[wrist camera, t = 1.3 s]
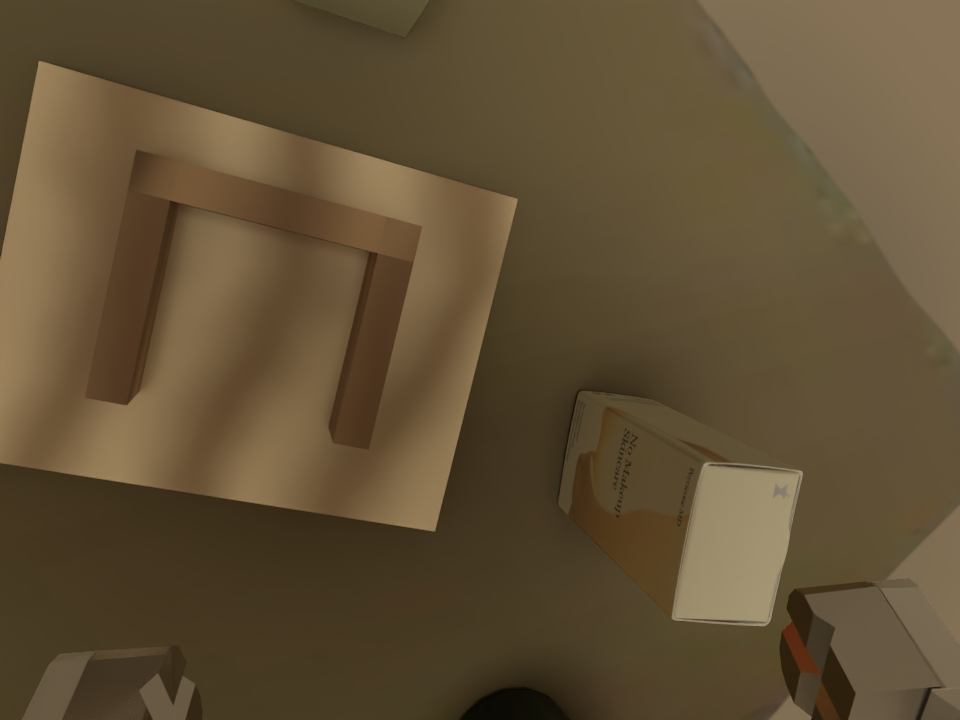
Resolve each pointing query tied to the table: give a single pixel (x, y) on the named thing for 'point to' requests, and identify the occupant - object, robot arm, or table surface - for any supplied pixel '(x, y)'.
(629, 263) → the table surface
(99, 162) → the u rest
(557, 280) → the table surface
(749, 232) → the table surface
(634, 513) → the skincare box
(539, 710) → the potion bottle
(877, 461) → the table surface
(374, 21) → the sage bottle
